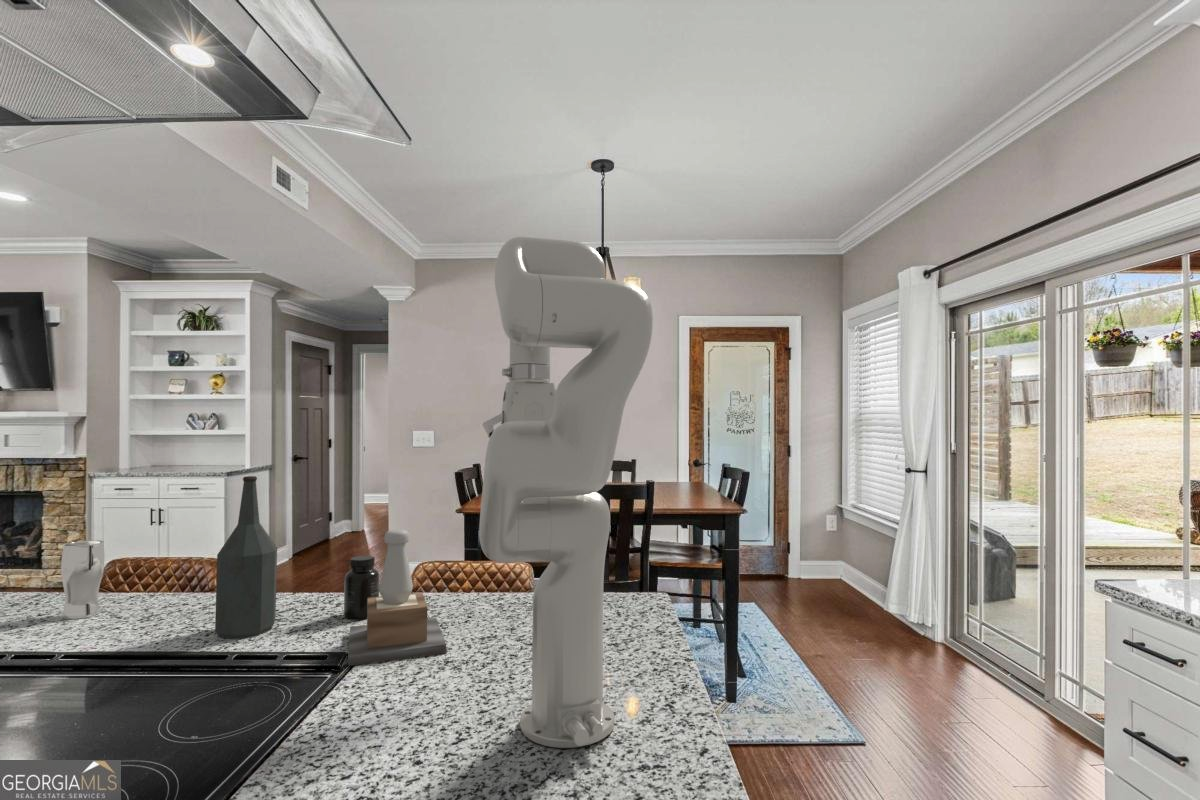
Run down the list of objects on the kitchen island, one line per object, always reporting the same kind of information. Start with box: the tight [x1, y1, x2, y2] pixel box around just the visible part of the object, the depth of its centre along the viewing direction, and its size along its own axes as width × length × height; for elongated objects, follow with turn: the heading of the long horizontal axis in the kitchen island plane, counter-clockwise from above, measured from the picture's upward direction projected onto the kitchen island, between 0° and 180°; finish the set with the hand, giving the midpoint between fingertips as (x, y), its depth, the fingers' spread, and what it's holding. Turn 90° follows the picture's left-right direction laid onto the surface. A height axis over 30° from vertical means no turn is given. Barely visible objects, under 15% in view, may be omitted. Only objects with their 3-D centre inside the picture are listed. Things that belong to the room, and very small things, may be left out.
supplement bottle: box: [343, 555, 380, 621], centre depth 128 cm, size 7×7×12 cm
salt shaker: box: [379, 528, 414, 605], centre depth 112 cm, size 6×6×13 cm
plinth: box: [347, 592, 447, 667], centre depth 112 cm, size 16×16×8 cm
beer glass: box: [60, 539, 105, 620], centre depth 128 cm, size 7×7×15 cm
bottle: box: [214, 475, 278, 640], centre depth 119 cm, size 10×10×30 cm
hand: (529, 467), depth 112 cm, fingers open, 9 cm apart
